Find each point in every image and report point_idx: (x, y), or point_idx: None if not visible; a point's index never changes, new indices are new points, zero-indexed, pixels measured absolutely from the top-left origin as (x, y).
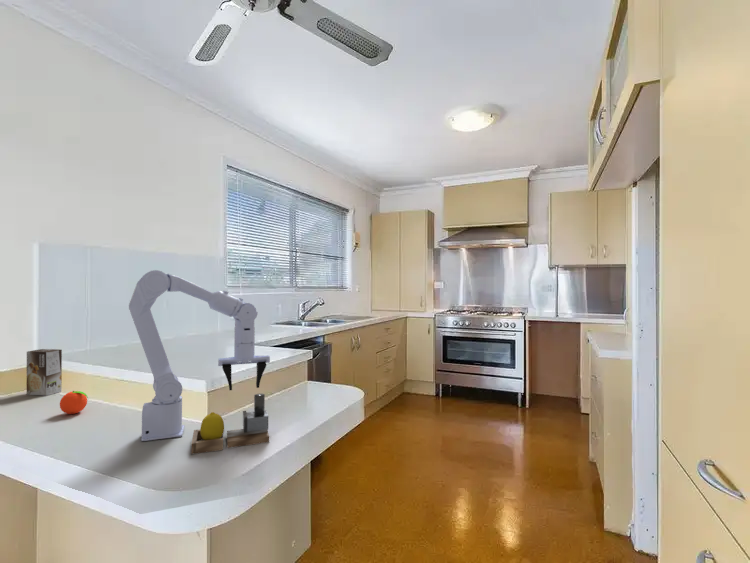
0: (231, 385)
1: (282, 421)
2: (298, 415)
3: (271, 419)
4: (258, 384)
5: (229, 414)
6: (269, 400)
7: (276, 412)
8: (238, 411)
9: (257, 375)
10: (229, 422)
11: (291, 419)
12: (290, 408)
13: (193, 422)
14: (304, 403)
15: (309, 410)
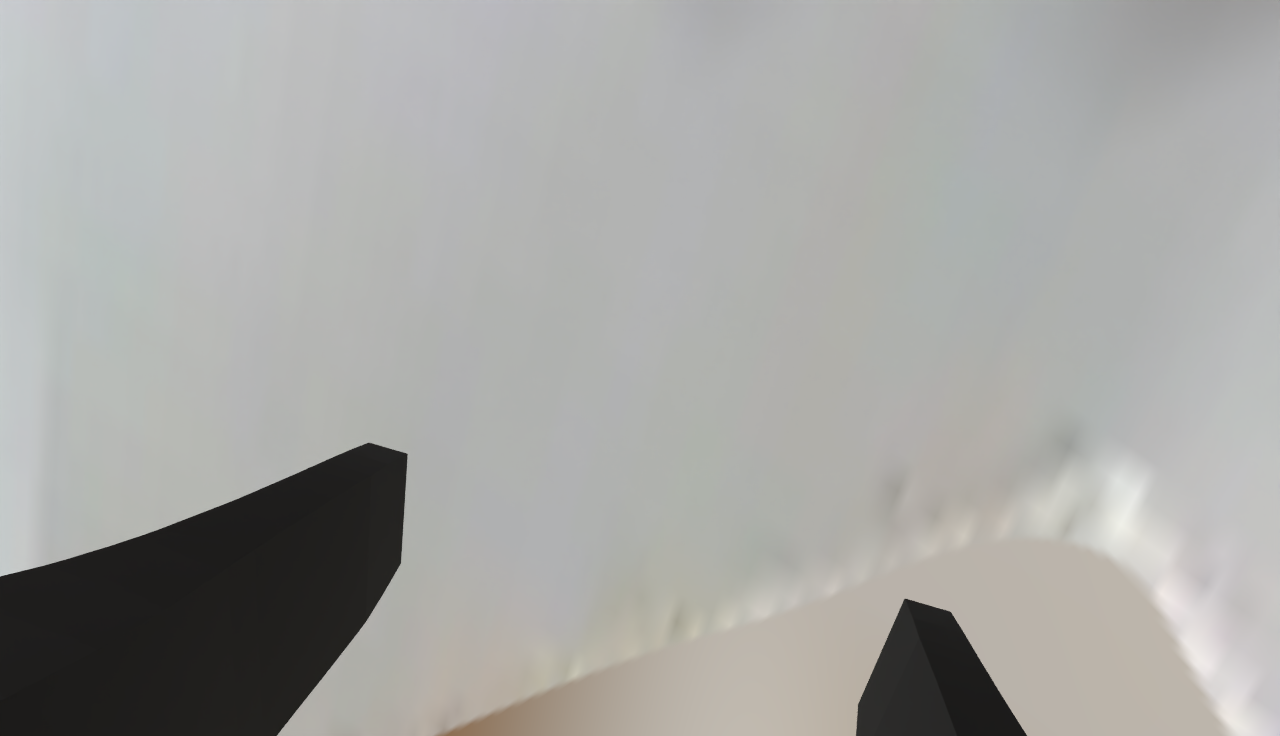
0: (937, 667)
1: (334, 9)
2: (143, 120)
3: (438, 165)
4: (336, 466)
5: (798, 596)
6: (354, 716)
7: (348, 363)
8: (689, 622)
9: (215, 645)
10: (892, 355)
11: (228, 21)
12: (201, 395)
13: (1240, 597)
14: (64, 452)
15: (25, 216)
